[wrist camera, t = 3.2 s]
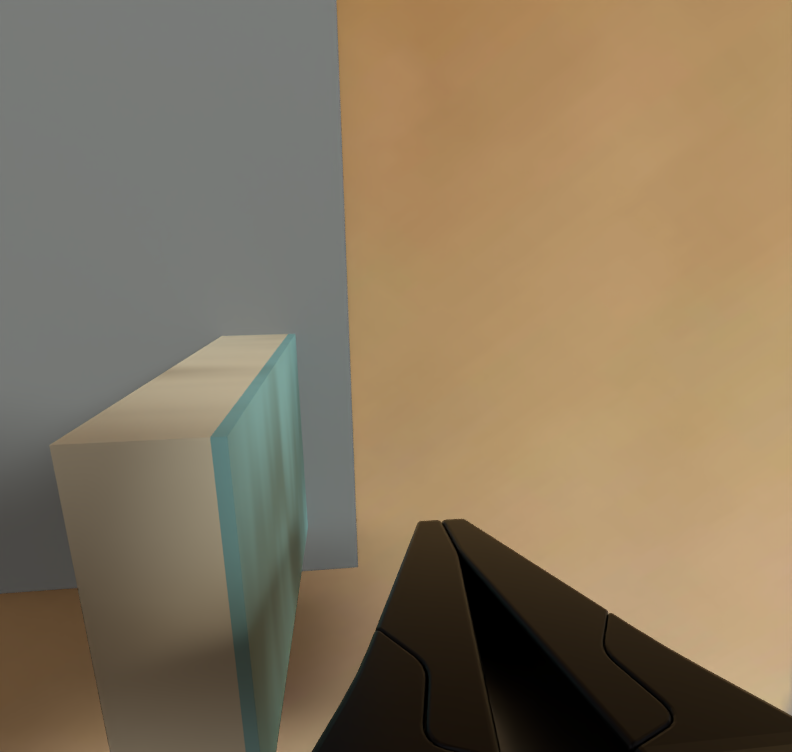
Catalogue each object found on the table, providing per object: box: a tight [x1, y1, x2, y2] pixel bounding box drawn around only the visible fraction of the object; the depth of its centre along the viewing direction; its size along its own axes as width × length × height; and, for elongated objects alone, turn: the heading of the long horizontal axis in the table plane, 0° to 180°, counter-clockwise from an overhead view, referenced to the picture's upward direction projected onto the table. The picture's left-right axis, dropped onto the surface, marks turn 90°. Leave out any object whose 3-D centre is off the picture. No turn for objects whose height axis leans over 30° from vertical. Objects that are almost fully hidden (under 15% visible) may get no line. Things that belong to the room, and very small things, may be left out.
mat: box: [0, 0, 358, 594], centre depth 13 cm, size 16×12×1 cm
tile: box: [49, 334, 308, 752], centre depth 10 cm, size 6×2×8 cm, turn 1°
